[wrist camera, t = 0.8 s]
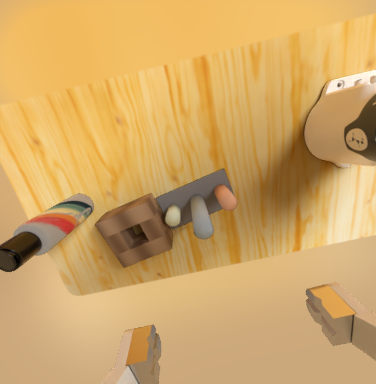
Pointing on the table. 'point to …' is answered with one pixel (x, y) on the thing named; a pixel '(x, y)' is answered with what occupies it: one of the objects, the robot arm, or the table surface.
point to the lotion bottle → (44, 231)
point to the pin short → (173, 215)
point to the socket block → (126, 237)
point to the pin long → (200, 218)
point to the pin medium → (225, 197)
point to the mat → (196, 187)
